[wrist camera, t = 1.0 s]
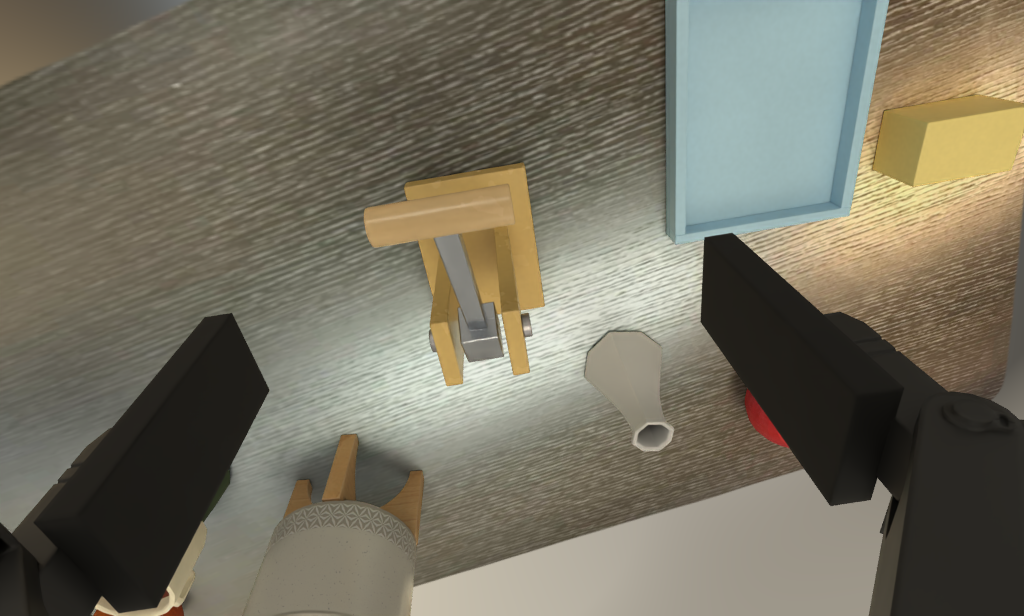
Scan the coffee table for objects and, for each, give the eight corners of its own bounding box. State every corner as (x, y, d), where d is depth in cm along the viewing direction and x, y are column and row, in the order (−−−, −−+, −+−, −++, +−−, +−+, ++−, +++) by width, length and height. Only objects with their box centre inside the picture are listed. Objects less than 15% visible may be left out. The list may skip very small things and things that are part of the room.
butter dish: (664, -16, 34) (676, -16, 32) (874, -53, 34) (899, -56, 32) (666, 233, 43) (675, 245, 41) (832, 206, 43) (849, 216, 41)
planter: (313, 525, 58) (256, 712, 43) (282, 439, 52) (202, 624, 37) (430, 516, 59) (415, 697, 44) (414, 429, 52) (390, 607, 37)
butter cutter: (405, 182, 40) (373, 269, 27) (523, 161, 40) (547, 240, 27) (440, 316, 46) (428, 438, 33) (543, 299, 46) (570, 416, 33)
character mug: (134, 439, 51) (38, 565, 40) (202, 422, 50) (124, 544, 39) (198, 511, 56) (129, 639, 45) (260, 496, 56) (206, 621, 44)
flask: (604, 319, 47) (633, 390, 39) (674, 340, 49) (717, 414, 40) (571, 380, 50) (591, 459, 42) (637, 398, 52) (670, 478, 43)
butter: (871, 169, 42) (912, 187, 38) (883, 110, 39) (928, 122, 35) (961, 154, 41) (1011, 170, 38) (978, 94, 39) (1033, 104, 35)
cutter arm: (363, 192, 22) (363, 239, 21) (506, 168, 22) (514, 213, 21) (435, 333, 33) (438, 368, 32) (529, 317, 33) (535, 352, 32)
